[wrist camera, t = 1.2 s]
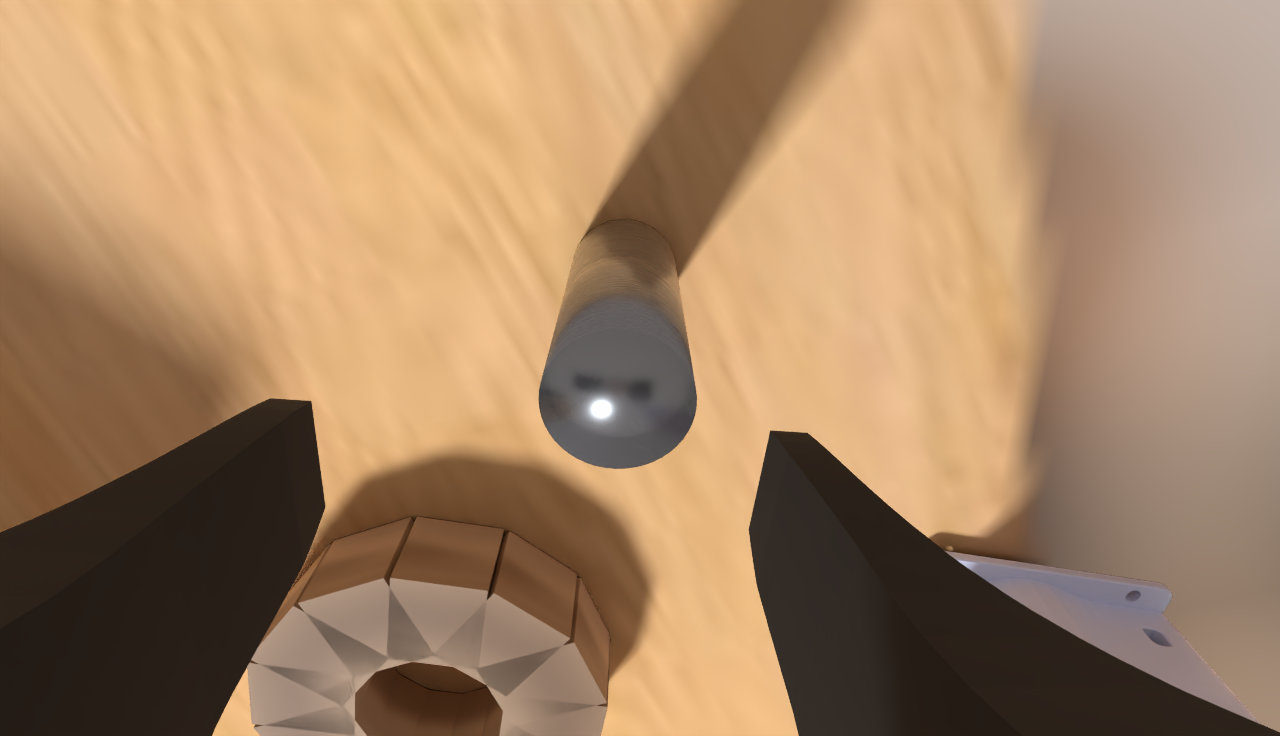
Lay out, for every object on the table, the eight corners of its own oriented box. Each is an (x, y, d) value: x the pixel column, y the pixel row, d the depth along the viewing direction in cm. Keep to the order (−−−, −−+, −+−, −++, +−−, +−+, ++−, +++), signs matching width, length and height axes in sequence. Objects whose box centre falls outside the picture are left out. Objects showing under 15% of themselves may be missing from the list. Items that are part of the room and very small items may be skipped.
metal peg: (685, 229, 20) (712, 344, 13) (664, 325, 21) (678, 479, 14) (580, 210, 20) (548, 317, 13) (565, 309, 21) (529, 456, 14)
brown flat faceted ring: (631, 546, 25) (630, 610, 22) (581, 765, 30) (576, 838, 28) (283, 497, 24) (239, 557, 21) (293, 732, 29) (258, 804, 27)
